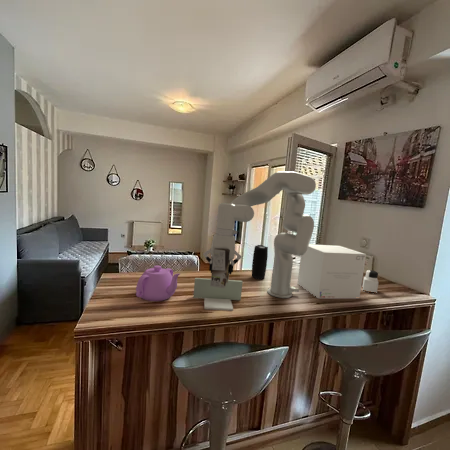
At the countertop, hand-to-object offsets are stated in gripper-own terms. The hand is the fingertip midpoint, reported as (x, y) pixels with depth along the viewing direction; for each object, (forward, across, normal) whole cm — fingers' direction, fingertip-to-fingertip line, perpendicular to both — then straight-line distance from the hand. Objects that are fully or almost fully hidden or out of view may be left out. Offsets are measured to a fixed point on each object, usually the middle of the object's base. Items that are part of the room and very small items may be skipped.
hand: (220, 272), depth 114 cm
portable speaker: (+14, -27, -43) cm, 53 cm away
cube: (+15, -63, -27) cm, 70 cm away
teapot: (+15, +26, -5) cm, 30 cm away
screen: (+14, 0, -7) cm, 16 cm away
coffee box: (+5, 0, 0) cm, 5 cm away
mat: (+15, 0, 0) cm, 15 cm away
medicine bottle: (+14, -91, -31) cm, 97 cm away
